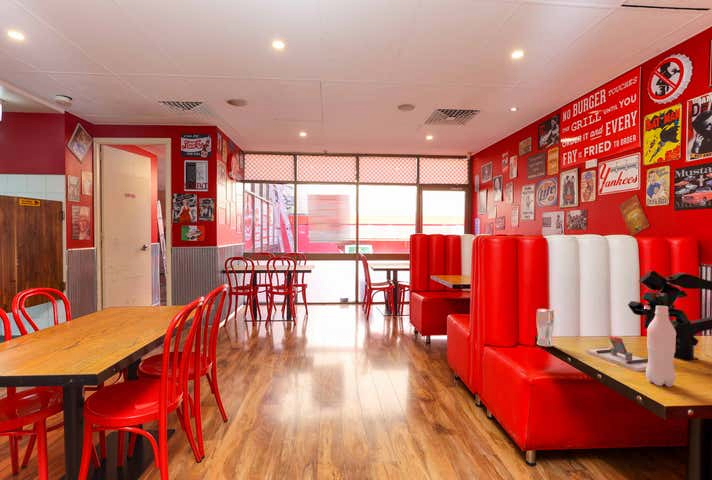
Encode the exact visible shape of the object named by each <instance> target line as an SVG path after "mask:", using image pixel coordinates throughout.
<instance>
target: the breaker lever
mask: <svg viewBox="0 0 712 480" xmlns="http://www.w3.org/2000/svg"><path fill="white" fill-rule="evenodd" d="M608 339H609V340H610V342H611V344H612V345H611V346H612V348H614V350H615V352H618V353H621V354H624V355H625V354H626V353H628V350H627V348H626V346H625V343H624V340H623V338H621V337H618V336H615V335H609V337H608Z"/></svg>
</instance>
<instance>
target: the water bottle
mask: <svg viewBox="0 0 712 480" xmlns="http://www.w3.org/2000/svg"><path fill="white" fill-rule="evenodd" d="M655 311H656V312H655V313H656V314H655V317H654V319H653V320H652V322H651V323H650V324H649V326H648V328H647V329H646V332H647V335H646V348H647V356H648V358H647V359H648V365H647V368H646V370H645V375H646V378H647V380H648V382H649V383H651V384H652V383H653V384H654V385H656V386H658V387H662V386H663V385H664V386H666V387H668V388H670V387H672V386H673V385H674V383H675V381H676V374H675V370H674V369H675V368H674V358H675V357H674V354H675V351H676V350H675V343H676V331H675V329H674V327H673V325H672V324H671V322H672V321H671V320H670V318H668V315H669V313H668V307H667V306H658V305H657V306H656V310H655Z"/></svg>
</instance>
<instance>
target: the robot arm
mask: <svg viewBox="0 0 712 480" xmlns="http://www.w3.org/2000/svg"><path fill="white" fill-rule="evenodd" d="M638 283H640V284H641V285H643V286H644V287H646V288H647V289H649V290H651V291H652V292H651V291H644V293H643V295H642V298H641V299H642V300H643V301H645V302H646V305H644V304H643V303H642V302H640V301H635V300H634V301H633V300H631V301H630V302H629V303H628V304H627V306H628V307H629V310H631V312H632V313H633V314H634V315H637V316H642V317H643V316H644V322H643V323H644V324H643V327H644V329H646V330H647V328H648V326H649V324H650V323H651V322H652V320H653V319H654V317H655V314H656V313H655V312H656V311H655V310H656V306H657V305H658V306H667V307H668V313H669V315H668V318H669V319H670V318H675V319H671V320H670V322H671V324H672V325H673V327H674V329H675V331H676V343H675V350H676V351H675V354H674V358H677V359H681V360H684V361H688V362H689V361H695V360H699V359H700V358H699V357H696V356H695V347H696V346H697V345H698V343H699V339H697V338H696V336H697V335H698V334H699V333H702V332H705V331H706V332H707V331H710V330H711V331H712V316H709V317H705V318H699V319H695V320H689V317H688V316H687V314H686V313H685V311H684V310H683V309H680V308H676V307H675V303H676V301H677V300H678V298H679V299H684V298H687V297H688V294H687V292H686V291H685V290H682V289H686V290H707V291H712V280H709V279H704V278H701V277H699V276H696V275H692V274H690V273H685V272H676V273H674V274H673V275H670V276H666V277H663V276H662V275H660V274H659V273H658V272H657V271H655V270H654V269H651V270H650V271H648V272H646V273H645V274H643V275H642V276H641V277H640V279H639V281H638ZM680 288H681V289H680ZM655 291H657V292H658V293H657V292H655Z"/></svg>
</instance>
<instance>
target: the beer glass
mask: <svg viewBox="0 0 712 480" xmlns="http://www.w3.org/2000/svg"><path fill="white" fill-rule="evenodd" d="M535 319H536V321H535V323H536V328H537V341H536V344H537V345H538V346H540V347H547V348H548V347H549V348H550V347H553V341H552V340H553V339H552V338H553V332H554V327H555V310H554V309H549V308H548V309H547V308H537V309H536V318H535Z"/></svg>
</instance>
